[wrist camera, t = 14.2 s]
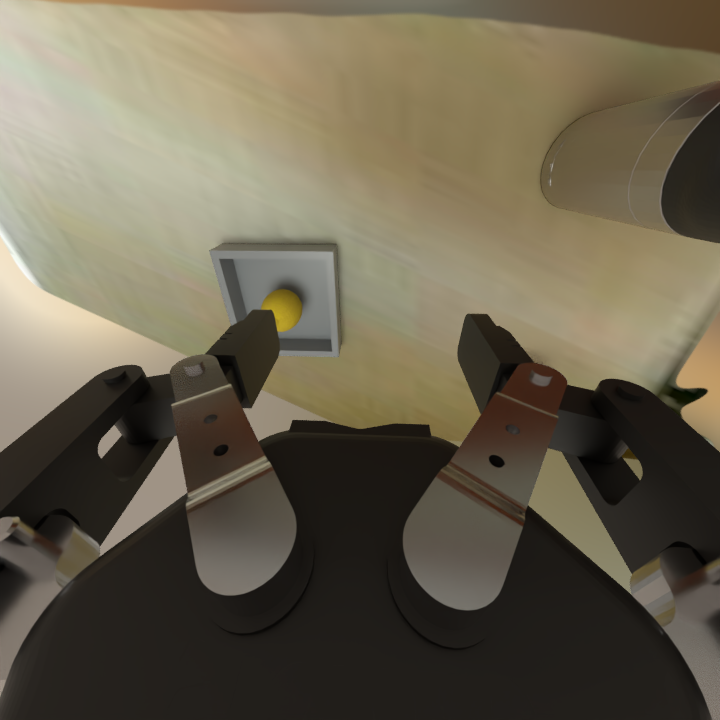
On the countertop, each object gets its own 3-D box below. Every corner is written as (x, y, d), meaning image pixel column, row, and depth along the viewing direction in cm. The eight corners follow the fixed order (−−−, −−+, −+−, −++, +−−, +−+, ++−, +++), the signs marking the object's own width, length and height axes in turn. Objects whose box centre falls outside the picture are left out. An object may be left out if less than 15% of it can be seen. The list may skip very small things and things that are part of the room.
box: (336, 244, 39) (333, 251, 35) (341, 343, 48) (338, 357, 44) (223, 243, 39) (209, 250, 36) (248, 341, 48) (239, 354, 45)
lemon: (291, 321, 45) (277, 348, 39) (264, 297, 43) (244, 321, 37) (314, 300, 43) (303, 325, 37) (286, 273, 41) (269, 294, 34)
